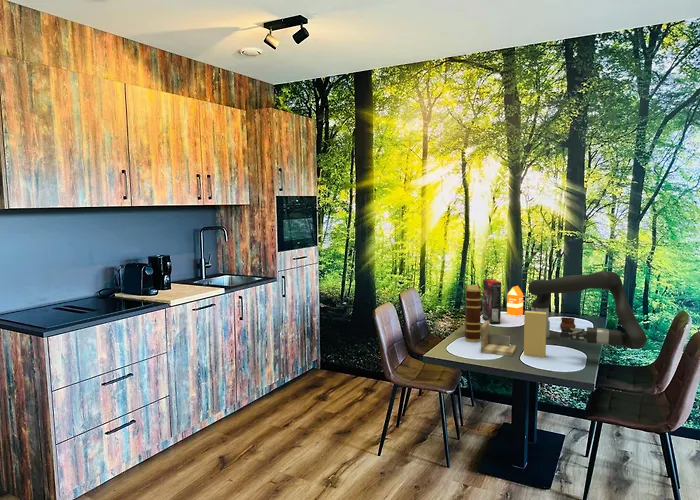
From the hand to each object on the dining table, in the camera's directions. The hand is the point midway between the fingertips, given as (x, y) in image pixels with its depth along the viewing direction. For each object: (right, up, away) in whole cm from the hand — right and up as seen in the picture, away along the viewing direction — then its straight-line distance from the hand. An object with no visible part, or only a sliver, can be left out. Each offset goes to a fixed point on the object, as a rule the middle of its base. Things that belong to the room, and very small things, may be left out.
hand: (560, 332), depth 237 cm
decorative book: (-33, -10, +42) cm, 55 cm away
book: (-10, -13, +7) cm, 18 cm away
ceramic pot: (+29, -8, +57) cm, 65 cm away
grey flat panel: (-25, -10, +19) cm, 33 cm away
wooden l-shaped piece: (-26, -12, +15) cm, 33 cm away
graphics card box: (-11, -7, +79) cm, 80 cm away
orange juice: (+11, -5, +98) cm, 98 cm away
